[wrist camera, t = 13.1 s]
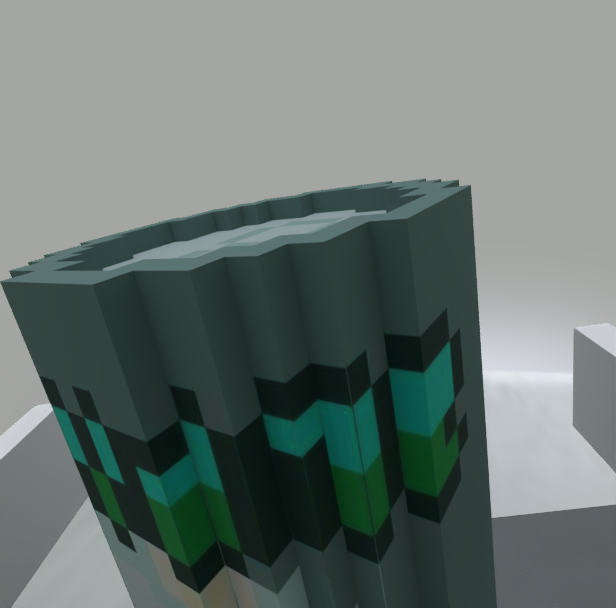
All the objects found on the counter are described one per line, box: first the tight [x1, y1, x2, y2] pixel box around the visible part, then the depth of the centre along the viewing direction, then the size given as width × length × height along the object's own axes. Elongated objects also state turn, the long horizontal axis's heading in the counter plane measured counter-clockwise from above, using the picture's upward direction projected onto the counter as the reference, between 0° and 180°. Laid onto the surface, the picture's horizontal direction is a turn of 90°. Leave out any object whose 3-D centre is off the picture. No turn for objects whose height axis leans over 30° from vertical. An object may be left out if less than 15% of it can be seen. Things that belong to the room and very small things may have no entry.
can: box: [0, 179, 497, 608], centre depth 9 cm, size 6×6×15 cm
